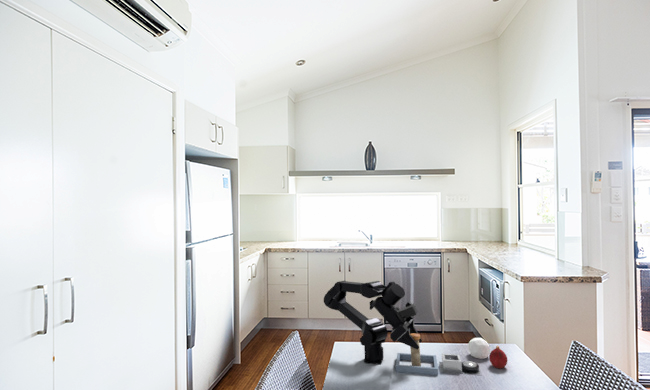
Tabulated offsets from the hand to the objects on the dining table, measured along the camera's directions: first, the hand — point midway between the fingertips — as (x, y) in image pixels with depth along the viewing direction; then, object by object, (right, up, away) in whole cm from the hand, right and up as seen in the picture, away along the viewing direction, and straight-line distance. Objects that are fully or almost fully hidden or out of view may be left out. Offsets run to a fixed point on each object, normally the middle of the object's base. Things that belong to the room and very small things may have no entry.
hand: (419, 345), depth 130 cm
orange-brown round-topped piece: (-1, -8, 0) cm, 8 cm away
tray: (-1, -9, 0) cm, 9 cm away
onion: (+27, -8, -2) cm, 29 cm away
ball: (+25, -9, +8) cm, 27 cm away
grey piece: (+13, -8, -2) cm, 16 cm away
